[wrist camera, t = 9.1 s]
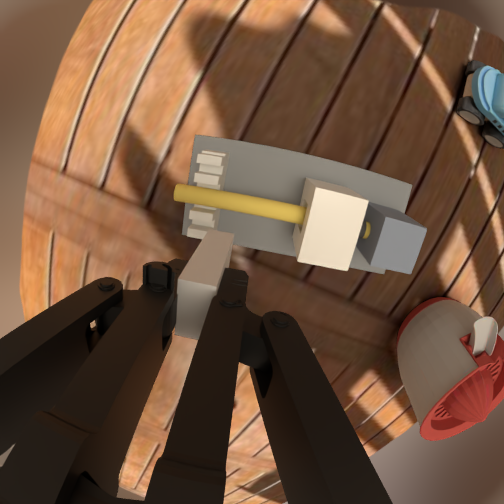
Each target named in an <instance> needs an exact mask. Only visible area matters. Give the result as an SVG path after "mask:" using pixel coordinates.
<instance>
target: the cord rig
mask: <svg viewBox="0 0 504 504" xmlns="http://www.w3.org/2000/svg"><path fill="white" fill-rule="evenodd" d="M306 177H307V178H311V179H315V180H319V181H324V182H328V183H332V184H336V185H340V186H344V187H347V188H350V189H351V190H353V191H355V192H356V193H358V194H359V195H361V196H362V197H364V198H366V199H367V200H369V202H368V205H367V209H366V213H365V216H364V220H363V223H362V227H361V230H360V233H359V237H358V240H357V243H356V246H355V250H354V253H353V256H352V259H351V262H350V265H349V267H351V268H356V269H361V270H366V271H371V272H376V273H381V274H384V272H385V270H386V269H388V270H393V271H398V272H403V273H407V274H411V273H412V270H413V267H414V265H415V262H416V260H417V257H418V254H419V251H420V249H421V246H422V243H423V240H424V237H425V234H426V231H427V228H425V227H424V226H422V225H421V224H419V223H418V222H416V221H415V220H413V219H412V218H410V217H408V216H407V215H405V214H404V213H405V209H406V206H407V202H408V199H409V195H410V191H411V187H412V185H411V184H408V183H405V182H402V181H399V180H396V179H393V178H390V177H387V176H384V175H381V174H378V173H374V172H371V171H368V170H364V169H361V168H357V167H354V166H350V165H347V164H343V163H339V162H336V161H332V160H328V159H324V158H320V157H316V156H312V155H308V154H303V153H299V152H294V151H290V150H285V149H280V148H275V147H270V146H265V145H260V144H254V143H249V142H243V141H237V140H230V139H224V138H217V137H210V136H202V135H195V139H194V146H193V152H192V158H191V165H190V172H189V179H188V185H185V184H179V183H178V184H177V185H176V187H175V191H174V200H175V201H180V202H186V203H185V211H184V220H183V229H182V235H187V236H188V237H193V238H198V239H203V238H204V237H205V235H206V233H207V232H208V230H209V229H211V230H217V231H222V232H227V233H233V234H234V239H233V245H239V246H244V247H249V248H254V249H259V250H264V251H269V252H274V253H280V254H285V255H290V256H295V257H296V252H295V247H294V242H293V238H292V236H293V232H294V228H295V224H301V225H303V222H304V218H305V214H306V210H307V207H303V206H300V202H301V198H302V194H303V189H304V185H305V180H306Z"/></svg>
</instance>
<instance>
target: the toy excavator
mask: <svg viewBox="0 0 504 504" xmlns="http://www.w3.org/2000/svg"><path fill="white" fill-rule="evenodd" d="M465 75H466V77H467V81H466V85H465V90H464V94H463V97H462V98H460V99H459V102H458V106H457V113H458V115H460V116H462V117H463V118H464V119H466V120H467V121H468V122H470V123H472V124H475V125H479V126H480V125H483V124H484V121H485V122H486V123H485V125H484V128H483V132H482V137H485V138H486V139H485V140H486V141H487V142H488V143H490V144H491V145H493V146H495V147H497V148H500V149H501V148H503V149H504V74H501V73H500V72H499V71H498V70H497V69H494V68H492V67H490V66H487V65H485V64H483V63H482V62H479V61H475V60H473V61H471V62H468V64H467V69H466V72H465Z"/></svg>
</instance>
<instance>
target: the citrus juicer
mask: <svg viewBox="0 0 504 504" xmlns="http://www.w3.org/2000/svg"><path fill="white" fill-rule="evenodd" d="M497 332H498V325H497V322H496V321H495V319H494V318H492V317H488V316H487V317H482V316H480V315H479V314H478V313H477V312H476V311H474V310H473V309H471V308H470V307H468V306H466V305H464V304H462V303H461V302H459V301H457V300H454V299H450V298H445V297H436V298H432V299H429V300H427V301H425V302H423V303H421V304H420V305H418V306H417V307H416V308H415V309H414V310H412V311H411V312H410V314H409V315H408V316H407V317H406V318H405V320H404V321H403V323H402V325H401V327H400V329H399V332H398V335H397V346H396V351H397V357H398V366H399V371H400V376H401V379H402V382H403V385H404V387H405V390H406V392H407V395H408V397H409V399H410V402H411V404H412V407H413V409H414V412H415V414H416V417H417V420H418V422H419V425H420V434H421V436H422V437H423V438H424V439H426V440H430V441H433V440H441V439H445V438H449V437H451V436H454V435H456V434H458V433H461V432H463V431H464V430H466V429H468V428H470V427H471V426H473V425H474V424H476V423H477V422H483V421H484V420H485V419H486V418H487V415H488V414H489V413H490V412H491V411H492V410H493V409H494V408H495V407H496V406H497V405H498V404H499V403H500V402H501V401H502V400H503V398H504V341H503V340H502V339H501V337H500V336H499V335H498V334H497Z"/></svg>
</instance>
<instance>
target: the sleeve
mask: <svg viewBox="0 0 504 504" xmlns="http://www.w3.org/2000/svg"><path fill="white" fill-rule="evenodd" d="M368 202H369V200H367V199H366V198H364V197H362V196H361V195H359V194H358V193H356V192H355V191H353V190H351V189H350V188H347V187H344V186H340V185H336V184H332V183H328V182H324V181H319V180H315V179H311V178H307V177H306V180H305V185H304V189H303V194H302V198H301V202H300V206H303V207H307V210H306V214H305V218H304V222H303V225H301V224H295V228H294V232H293V236H292V238H293V242H294V247H295V252H296V257H297V261H298V262H303V263H308V264H313V265H318V266H324V267H329V268H334V269H339V270H344V271H348V268H349V265H350V262H351V259H352V256H353V253H354V250H355V246H356V243H357V240H358V237H359V233H360V230H361V227H362V223H363V220H364V216H365V213H366V209H367V205H368Z"/></svg>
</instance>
